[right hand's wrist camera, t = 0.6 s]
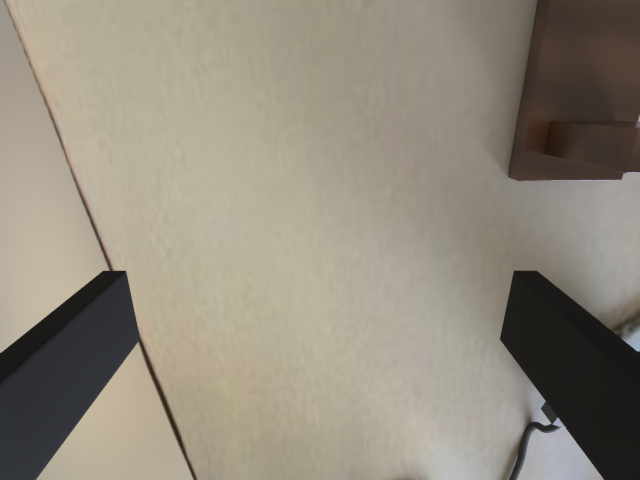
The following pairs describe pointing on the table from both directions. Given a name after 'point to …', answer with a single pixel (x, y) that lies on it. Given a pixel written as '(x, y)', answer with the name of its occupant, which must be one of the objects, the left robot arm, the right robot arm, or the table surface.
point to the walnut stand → (580, 93)
